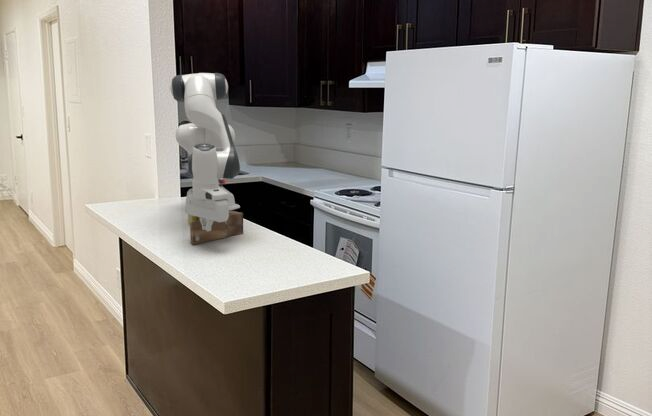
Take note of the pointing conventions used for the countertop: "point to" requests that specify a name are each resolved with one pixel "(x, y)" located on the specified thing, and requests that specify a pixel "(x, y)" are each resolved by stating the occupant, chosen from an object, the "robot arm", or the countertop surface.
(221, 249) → the countertop surface
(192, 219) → the mug
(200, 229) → the door
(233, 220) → the cabinet
